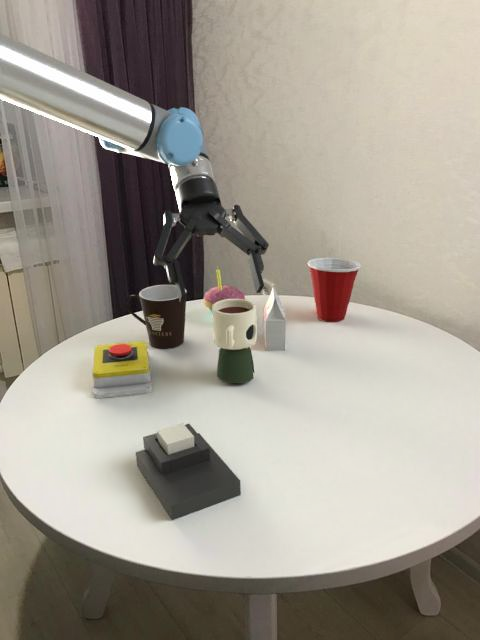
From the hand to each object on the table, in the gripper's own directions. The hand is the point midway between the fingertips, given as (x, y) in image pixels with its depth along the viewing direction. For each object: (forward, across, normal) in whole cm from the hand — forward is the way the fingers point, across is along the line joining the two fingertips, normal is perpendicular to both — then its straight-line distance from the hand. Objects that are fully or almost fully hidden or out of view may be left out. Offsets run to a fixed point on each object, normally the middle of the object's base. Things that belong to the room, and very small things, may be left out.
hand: (222, 294), depth 99 cm
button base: (+30, -14, -13) cm, 36 cm away
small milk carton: (+6, +11, +12) cm, 17 cm away
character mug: (+14, 0, +4) cm, 15 cm away
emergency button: (+8, -18, +10) cm, 22 cm away
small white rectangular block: (+26, -15, -13) cm, 33 cm away
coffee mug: (0, -9, +18) cm, 20 cm away
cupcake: (-4, +6, +22) cm, 23 cm away
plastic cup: (+1, +27, +18) cm, 32 cm away
